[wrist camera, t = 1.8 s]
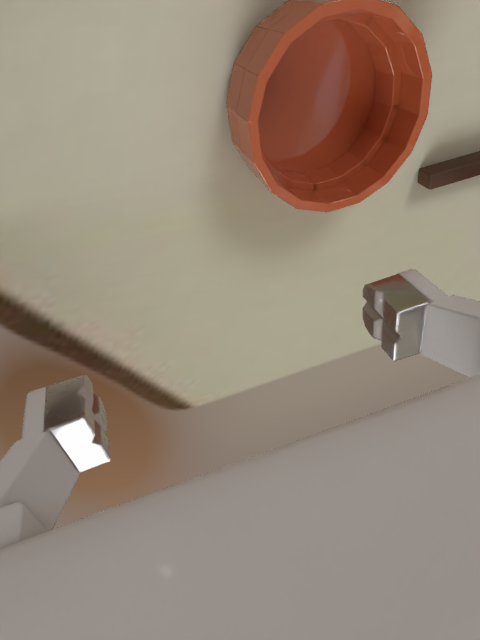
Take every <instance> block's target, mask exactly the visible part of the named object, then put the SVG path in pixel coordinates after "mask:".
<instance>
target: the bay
mask: <svg viewBox="0 0 480 640" xmlns="http://www.w3.org/2000/svg"><path fill="white" fill-rule="evenodd" d="M478 175H480V151H479V152H476V153H472V154H469V155H465V156H462V157H458V158H455V159H451V160H448V161H444V162H441V163H437V164H434V165H430V166H427V167H424V168H420V169H419V176H418V183H419V184H421V185H423V186H424V187H426V188H428V189H434V188H437V187H440V186H444V185H447V184H451V183H454V182H457V181H461V180H464V179H467V178H471V177H474V176H478Z"/></svg>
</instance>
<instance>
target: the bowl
mask: <svg viewBox="0 0 480 640" xmlns="http://www.w3.org/2000/svg"><path fill="white" fill-rule="evenodd" d="M431 80H432V72H431V67H430V63H429V59H428V55H427V51H426V47H425V43H424V38H423V35H422V34H421V32H420V31H419V30H418V29H417V28H416V26H415V25H414V24H413V23H412V22H411V20H410V19H409V18H408V17H407V15H406V14H405V13H404V12H403V11H402V9H401V8H400V7H398V6H397V5H394V4H391V3H388V2H385V1H382V0H289V1H287V2H285V3H284V4H283V5H282V6H280V7H279V8H278V9H277V10H275V11H274V12H273V13H272V14H270V15H269V16H268V17H267V18H265V19H264V20H263V21H262V22H260V23H259V24H258V25H257V27H255V28H254V30H253V32H252V33H251V35H250V37H249V39H248V40H247V42H246V44H245V46H244V47H243V49H242V51H241V52H240V54H239V56H238V58H237V59H236V61H235V64H234V66H233V71H232V76H231V82H230V87H229V92H228V97H227V103H226V104H227V112H228V118H229V124H230V130H231V137H232V141H233V143H234V145H235V147H236V148H237V150H238V151H239V153H240V155H241V156H242V158H243V160H244V161H245V163H246V165H247V166H248V168H249V169H250V170H251V171H252V172H253V173H254V174H255V175H256V176H257V177H258V179H259V180H260V181H261V182H262V183H263V184H264V185H265V186H266V187H267V188H268V189H269V190H270V191H271V192H272V193H273V194H275V195H276V196H278V197H279V198H281V199H282V200H284V201H286V202H287V203H289V204H290V205H292V206H293V207H295V208H296V209H303V210H312V211H320V212H330V211H333V210H337V209H340V208H344V207H347V206H350V205H354V204H357V203H360V202H361V201H363V200H364V199H365V198H367V197H368V196H370V195H371V194H372V193H374V192H375V191H377V190H378V189H380V188H381V187H382V186H384V185H385V184H387V183H388V182H389V180H390V179H391V178H392V177H393V175H394V174H395V173H396V172H397V170H398V169H399V168H400V166H401V165H402V164H403V163H404V161H405V160H406V159H407V158H408V156H409V155H410V154H411V152H412V150H413V148H414V146H415V143H416V141H417V139H418V136H419V134H420V132H421V129H422V127H423V125H424V122H425V120H426V117H427V114H428V107H429V98H430V89H431Z"/></svg>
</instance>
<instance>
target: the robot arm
mask: <svg viewBox="0 0 480 640" xmlns="http://www.w3.org/2000/svg"><path fill="white" fill-rule="evenodd" d="M363 297H364V298H365V299H366V301H367V303H366V304H365V306H364V307H363V320H364V323H365V327H366V328H367V330H368V332H369V333H370V335H371V336H372V337H373V338H375V339H378V340H381V341H382V345H381V347H382V349H383V350H384V351H385V352H386V353H387V354H388V355H389V357H390V358H391V359H392V360H393V361H394V362H395V361H397V360H401V359H403V358H407V357H410V356H413V355H416V354H419V353H421V355H423V356H425V357H428V358H430V359H432V360H434V361H436V362H438V363H441V364H443V365H445V366H447V367H449V368H451V369H453V370H456V371H458V372H460V373H462V374H465V375H467V376H469V377H470V378H467V379H464V380H462V381H459V382H456V383H453V384H451V385H448V386H445V387H443V388H440V389H437V390H434V391H431V392H429V393H426V394H423V395H420V396H418V397H415V398H412V399H409V400H407V401H404V402H401V403H399V404H396V405H393V406H391V407H388V408H385V409H382V410H379V411H376V412H374V413H371V414H368V415H366V416H363V417H360V418H357V419H354V420H351V421H349V422H346V423H343V424H341V425H338V426H335V427H332V428H329V429H327V430H324V431H321V432H318V433H316V434H313V435H310V436H307V437H305V438H302V439H299V440H296V441H294V442H291V443H288V444H285V445H283V446H280V447H277V448H274V449H272V450H269V451H266V452H264V453H261V454H258V455H255V456H253V457H250V458H247V459H244V460H242V461H239V462H236V463H234V464H231V465H228V466H225V467H223V468H220V469H217V470H214V471H211V472H209V473H206V474H203V475H200V476H198V477H195V478H192V479H189V480H187V481H184V482H181V483H179V484H176V485H173V486H170V487H167V488H165V489H162V490H159V491H156V492H154V493H151V494H148V495H145V496H143V497H140V498H137V499H134V500H132V501H129V502H126V503H124V504H121V505H118V506H115V507H112V508H110V509H107V510H104V511H101V512H99V513H96V514H93V515H90V516H88V517H85V518H82V519H79V520H77V521H74V522H71V523H68V524H66V525H63V526H60V527H57V528H55V529H53V528H54V526H55V523H56V522H57V520H58V517H59V515H60V513H61V511H62V509H63V507H64V505H65V503H66V501H67V499H68V497H69V495H70V493H71V491H72V489H73V487H74V485H75V483H76V481H77V479H78V477H79V472H82V471H85V470H87V469H90V468H93V467H95V466H98V465H101V464H103V463H106V462H109V461H110V447H109V440H108V438H107V437H106V434H105V432H106V430H107V429H108V422H107V417H106V412H105V409H104V407H103V404H102V401H101V399H100V398H99V396H98V395H96V394H94V393H93V386H92V383H91V381H90V379H89V378H88V376H86V375H83V376H79V377H77V378H73V379H70V380H66V381H63V382H59V383H56V384H53V385H49V386H48V387H44V388H40V389H37V390H34V391H30V392H29V393H28V394H27V396H26V403H25V411H24V420H23V428H22V436H21V440H19V441H16V442H15V443H14V444H13V445H12V447H11V448H10V449H9V451H8V452H7V453H6V455H5V456H4V457H3V458H2V459H1V461H0V640H480V301H476V300H472V299H468V298H464V297H460V296H455V295H452V296H448V295H446V294H445V293H444V292H443V291H441V290H440V289H439V288H438V287H437V286H435V285H434V284H433V283H432V282H430V281H429V280H428V279H427V278H425V277H424V276H423V275H422V274H420V273H419V272H418V271H417V270H414V269H410V270H407V271H404V272H401V273H398V274H396V275H393V276H390V277H387V278H384V279H381V280H378V281H375V282H372V283H369V284H366V285H365V286H364V288H363Z"/></svg>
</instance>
